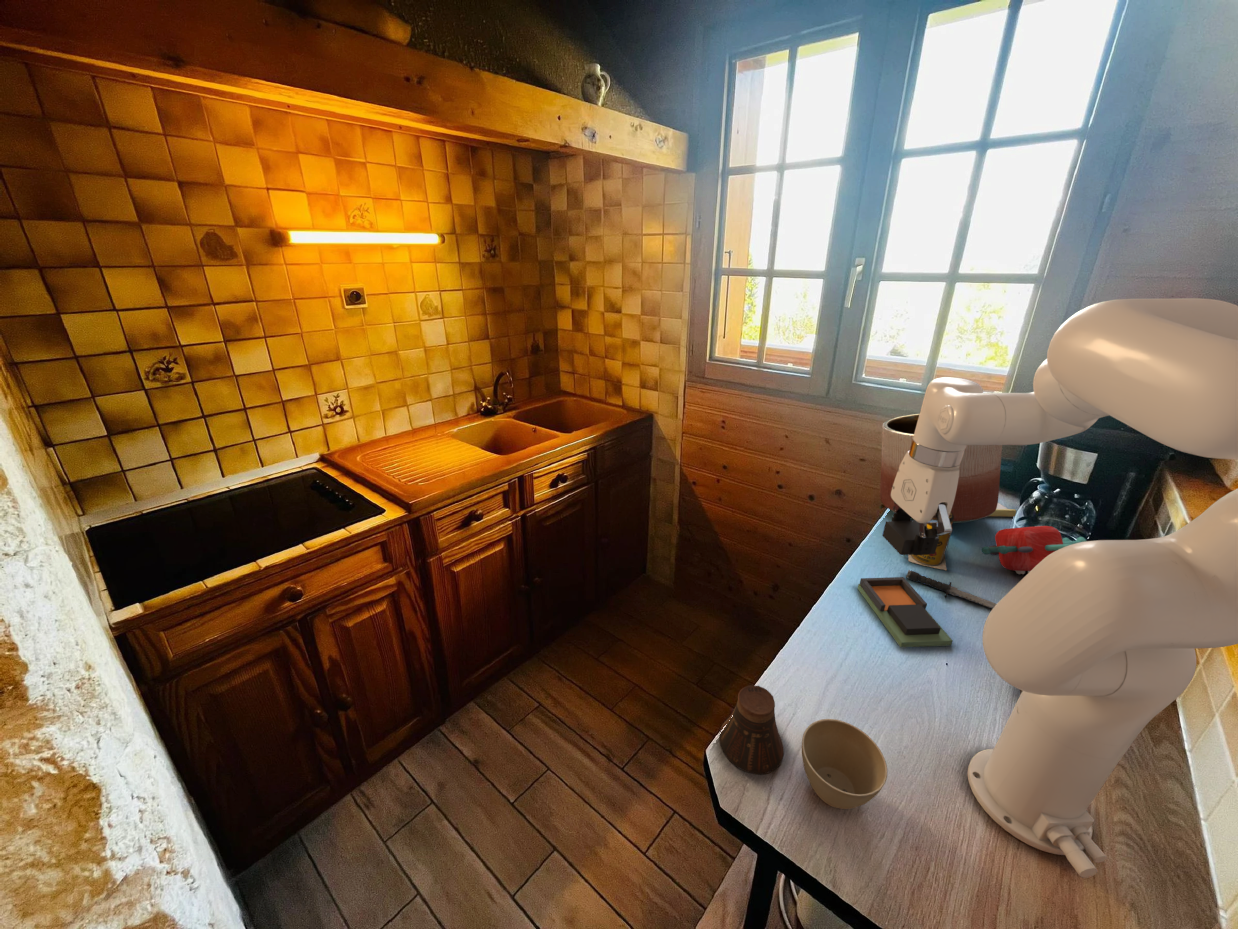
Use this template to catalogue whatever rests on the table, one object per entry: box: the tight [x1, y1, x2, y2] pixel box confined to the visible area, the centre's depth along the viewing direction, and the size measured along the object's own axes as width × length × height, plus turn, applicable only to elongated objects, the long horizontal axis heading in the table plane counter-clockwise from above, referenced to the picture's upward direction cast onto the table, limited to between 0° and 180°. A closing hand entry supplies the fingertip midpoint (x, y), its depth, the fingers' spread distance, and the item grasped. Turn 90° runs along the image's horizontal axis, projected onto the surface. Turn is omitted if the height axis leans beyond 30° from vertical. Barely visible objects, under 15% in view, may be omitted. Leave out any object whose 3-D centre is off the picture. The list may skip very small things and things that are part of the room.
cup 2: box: [718, 684, 785, 775], centre depth 68 cm, size 9×9×10 cm
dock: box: [857, 576, 953, 648], centre depth 94 cm, size 16×9×3 cm, turn 2°
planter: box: [879, 413, 1003, 524], centre depth 124 cm, size 25×25×22 cm
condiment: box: [907, 512, 954, 571], centre depth 108 cm, size 7×8×12 cm
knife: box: [905, 569, 997, 609], centre depth 98 cm, size 19×2×5 cm
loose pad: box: [882, 519, 939, 556], centre depth 89 cm, size 6×6×3 cm
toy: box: [980, 525, 1087, 577], centre depth 104 cm, size 17×10×20 cm
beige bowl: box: [801, 718, 888, 810], centre depth 63 cm, size 10×10×7 cm
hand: (908, 541), depth 89 cm, fingers closed on loose pad, 6 cm apart
